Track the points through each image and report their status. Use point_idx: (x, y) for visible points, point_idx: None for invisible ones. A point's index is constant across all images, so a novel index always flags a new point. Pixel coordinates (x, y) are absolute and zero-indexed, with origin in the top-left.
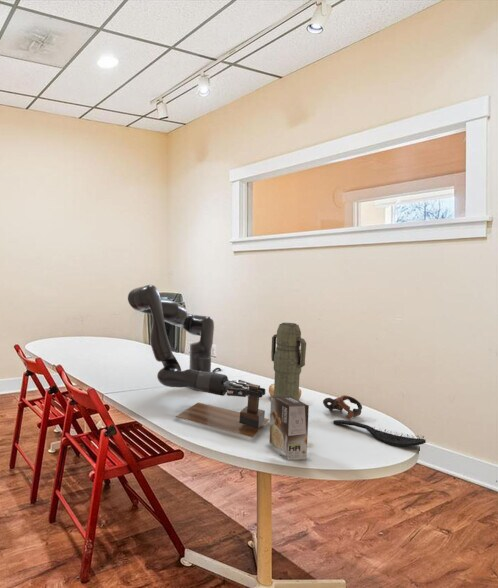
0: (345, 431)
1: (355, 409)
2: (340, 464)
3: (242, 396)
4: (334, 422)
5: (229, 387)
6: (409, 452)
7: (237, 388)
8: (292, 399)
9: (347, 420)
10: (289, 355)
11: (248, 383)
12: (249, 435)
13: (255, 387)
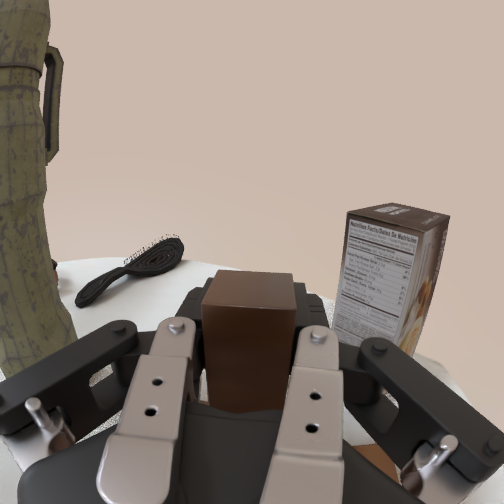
0: (125, 300)
1: (55, 263)
2: (330, 308)
3: (384, 402)
4: (82, 304)
5: (417, 498)
6: (192, 261)
7: (417, 392)
8: (385, 209)
9: (87, 284)
10: (35, 109)
11: (101, 347)
12: (382, 455)
13: (292, 285)
